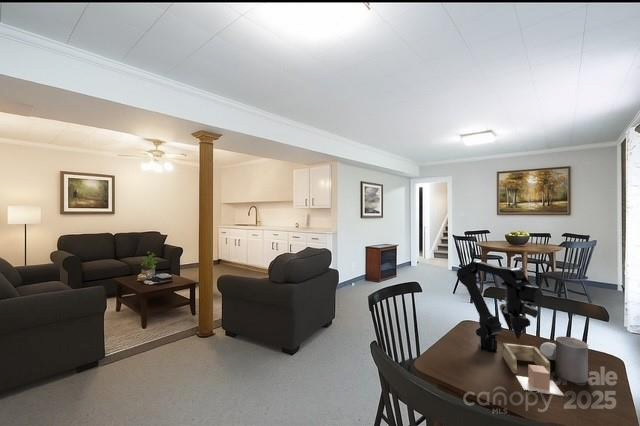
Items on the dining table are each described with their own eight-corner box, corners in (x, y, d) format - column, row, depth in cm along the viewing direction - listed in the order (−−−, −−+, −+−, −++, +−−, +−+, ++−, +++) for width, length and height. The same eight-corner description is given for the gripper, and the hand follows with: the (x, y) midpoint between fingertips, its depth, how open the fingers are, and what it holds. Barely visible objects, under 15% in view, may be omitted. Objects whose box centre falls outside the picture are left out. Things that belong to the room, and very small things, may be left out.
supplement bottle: (564, 344, 127) (554, 342, 120) (568, 361, 125) (558, 360, 117) (545, 343, 132) (535, 341, 125) (549, 359, 129) (539, 358, 122)
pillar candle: (552, 367, 122) (552, 331, 122) (583, 372, 118) (583, 335, 117) (558, 379, 113) (558, 341, 113) (592, 386, 109) (592, 346, 109)
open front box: (513, 373, 118) (513, 358, 118) (503, 356, 131) (503, 343, 131) (550, 378, 114) (549, 362, 114) (535, 360, 128) (535, 346, 127)
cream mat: (524, 390, 107) (524, 389, 107) (515, 376, 116) (515, 375, 116) (564, 396, 104) (564, 395, 104) (552, 381, 112) (552, 380, 112)
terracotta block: (533, 387, 108) (533, 371, 108) (528, 379, 113) (528, 364, 113) (549, 389, 107) (549, 373, 106) (543, 382, 111) (543, 366, 111)
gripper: (545, 306, 115) (545, 346, 115) (527, 293, 133) (527, 327, 133) (512, 304, 118) (512, 342, 119) (499, 291, 136) (499, 325, 136)
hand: (514, 334), depth 127 cm, fingers open, 9 cm apart
